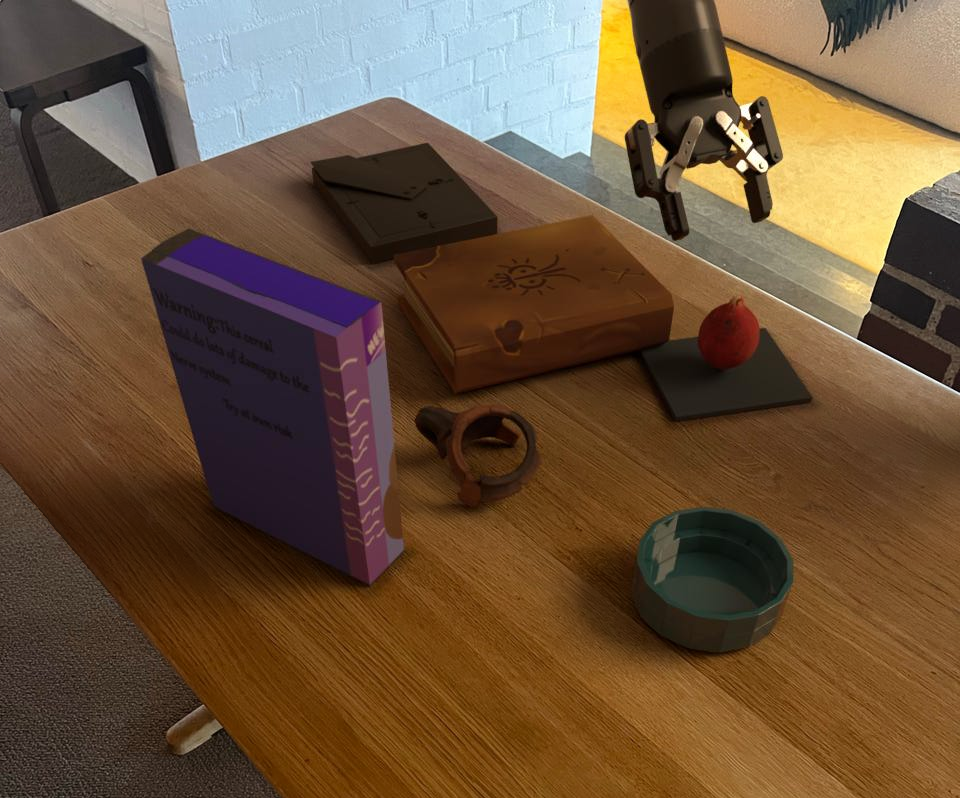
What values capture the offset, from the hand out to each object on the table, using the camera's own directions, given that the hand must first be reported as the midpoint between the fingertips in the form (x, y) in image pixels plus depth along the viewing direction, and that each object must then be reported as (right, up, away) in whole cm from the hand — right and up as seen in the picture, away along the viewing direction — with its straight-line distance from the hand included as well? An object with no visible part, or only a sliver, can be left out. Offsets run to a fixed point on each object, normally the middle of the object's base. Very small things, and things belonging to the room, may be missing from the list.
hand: (722, 228), depth 92 cm
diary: (-17, -5, +13) cm, 22 cm away
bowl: (-4, -35, -11) cm, 37 cm away
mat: (+2, -11, +8) cm, 14 cm away
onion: (+2, -11, +8) cm, 14 cm away
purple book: (-38, -28, -5) cm, 47 cm away
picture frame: (-32, +15, +29) cm, 46 cm away
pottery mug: (-23, -23, -1) cm, 32 cm away
